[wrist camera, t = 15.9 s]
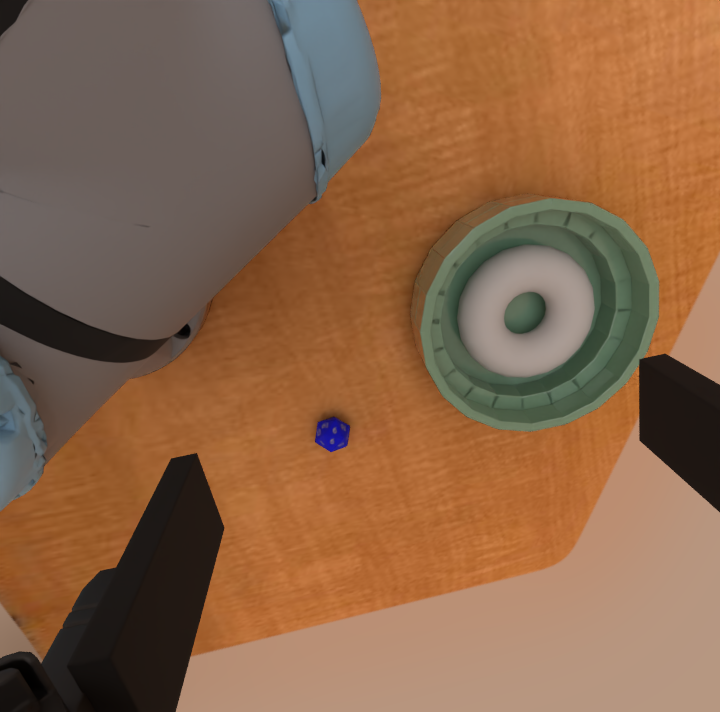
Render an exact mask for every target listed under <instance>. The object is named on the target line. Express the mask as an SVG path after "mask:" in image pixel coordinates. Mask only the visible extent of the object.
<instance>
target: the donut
mask: <svg viewBox="0 0 720 712" xmlns="http://www.w3.org/2000/svg"><path fill="white" fill-rule="evenodd" d="M526 292H535V293H538V294H540V295H541V296H542V297H543V299H544V301H545V306H546V311H545V316H544V317H543V319H542V321H541V323H540V324H539V325H538V326H537V327H536V328H535V329H533V330H531V331H530V332H527V333H523V334H518V333H513V332H511V331H510V330H509V329H507V327H506V326H505V322H504V314H505V310H506V308H507V306H508V304H509V303H510V302H511V301H512V300H513V298H515V297H516V296H518V295H520V294H522V293H526ZM594 311H595V306H594V295H593V287H592V285H591V283H590V281H589V278H588V276H587V274H586V272H585V270H584V269H583V268H582V267H581V266H580V265H579V264H578V263H577V262H576V261H575V260H574V259H573V258H572V257H571V256H570V255H568V254H567V253H565V252H562V251H560V250H558V249H555V248H553V247H551V246H545V245H528V244H524V245H520V246H517V247H513V248H509V249H505V250H502V251H501V252H499V253H497V254H496V255H494V256H493V257H491V258H489V259H488V260H486V261H485V262H483V263H482V265H481V266H480V267H479V268H478V269H477V270H476V271H475V272H474V273H473V275H472V276H471V277H470V278H469V279H468V282H467V284H466V286H465V288H464V290H463V292H462V294H461V296H460V299H459V307H458V314H457V322H458V327H459V332H460V337H461V341H462V342H463V344H464V346H465V347H466V349H467V351H468V353H469V354H470V356H471V357H472V358H473V359H474V360H476V361H477V362H478V363H479V364H480V365H482V366H483V367H484V368H485V369H487V370H488V371H491V372H494V373H497V374H500V375H502V376H505V377H522V378H527V377H531V376H535V375H539V374H543V373H547V372H549V371H551V370H552V369H554V368H556V367H558V366H559V365H561V364H563V363H565V362H566V361H567V360H568V359H569V358H570V357H571V356H572V355H573V354H574V353H575V352H576V351H577V350H578V349H579V348H580V346H581V345H582V343H583V341H584V339H585V338H586V336H587V334H588V332H589V331H590V328H591V323H592V319H593V315H594Z"/></svg>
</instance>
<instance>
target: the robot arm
mask: <svg viewBox="0 0 720 712" xmlns="http://www.w3.org/2000/svg"><path fill="white" fill-rule="evenodd" d="M380 102H381V83H380V75H379V69H378V64H377V59H376V55H375V51H374V48H373V44H372V41H371V38H370V35H369V31H368V28H367V26H366V23H365V20H364V17H363V15H362V12H361V10H360V7H359V5H358V2H357V0H0V511H2V510H3V509H4V508H5V507H6V506H7V505H8V504H9V503H10V502H11V501H12V500H15V499H17V498H19V497H21V496H22V495H24V494H26V493H27V492H28V491H29V490H31V489H32V487H33V486H34V485H35V484H36V483H37V481H38V480H39V479H40V477H41V476H42V474H43V469H44V466H45V465H46V464H47V463H48V462H49V460H50V459H51V458H52V457H53V456H54V455H55V454H56V453H57V452H58V451H59V450H60V449H61V447H62V446H63V445H64V444H65V443H66V442H67V441H68V440H69V439H70V438H71V437H72V436H73V435H74V434H75V433H76V432H77V431H78V430H79V429H80V428H81V427H82V426H83V425H84V424H85V423H86V421H87V420H88V419H89V418H90V417H91V416H92V415H93V414H94V413H95V412H96V411H97V410H98V409H99V408H100V407H101V406H102V405H103V404H104V403H105V402H106V401H107V400H108V399H109V398H110V397H111V396H112V395H113V394H114V393H115V392H116V391H117V390H118V389H119V388H120V387H121V386H122V385H123V384H124V383H125V382H126V381H127V380H129V379H131V378H136V377H140V376H144V375H147V374H149V373H152V372H154V371H156V370H158V369H160V368H162V367H164V366H166V365H167V364H169V363H170V362H172V361H173V360H174V359H176V358H177V357H178V356H179V355H180V354H181V353H182V352H183V351H184V350H185V349H186V348H187V347H188V346H189V344H190V343H191V342H192V340H193V339H194V338H195V336H196V335H197V333H198V332H199V330H200V329H201V327H202V325H203V323H204V322H205V320H206V317H207V315H208V312H209V309H210V306H211V302H212V298H213V297H214V296H215V295H216V294H217V293H218V292H219V291H220V290H221V289H222V288H223V287H224V286H225V285H226V284H227V283H228V282H229V281H230V280H231V279H232V278H233V277H234V276H235V275H236V274H237V273H238V272H239V271H240V270H242V269H243V268H244V267H245V266H246V265H247V264H248V263H249V262H250V261H251V260H252V259H253V258H254V257H255V256H256V255H257V254H258V253H259V252H260V251H261V250H262V249H263V248H264V247H265V246H266V245H267V244H268V243H269V242H270V241H271V240H272V239H273V238H274V237H275V236H276V235H277V234H278V233H279V232H280V231H281V230H282V229H283V228H284V227H285V226H286V225H287V224H288V223H289V222H290V221H291V220H292V219H293V218H294V217H295V216H296V215H297V214H298V213H299V212H300V211H302V210H303V209H304V208H305V207H306V206H307V205H308V204H314V203H316V202H317V201H318V200H319V199H320V198H321V197H322V194H323V192H325V191H326V188H327V184H328V182H329V181H330V179H331V178H332V177H333V176H334V175H335V174H336V173H337V172H338V171H339V170H340V169H341V167H342V166H343V165H344V164H345V163H346V162H347V161H348V160H349V159H350V158H351V157H352V156H353V154H354V153H355V152H356V151H357V150H358V149H359V148H360V147H361V146H362V145H363V144H364V142H365V141H366V140H367V139H368V137H369V136H370V133H371V132H372V129H373V127H374V124H375V121H376V116H377V113H378V111H379V109H380ZM639 422H640V424H639V425H640V426H639V427H640V441H641V442H642V443H643V444H644V445H645V446H646V447H647V448H649V449H650V450H651V451H652V452H653V453H654V454H655V455H656V456H657V457H659V458H660V459H661V460H662V461H663V462H664V463H665V464H666V465H668V466H669V467H670V468H671V469H672V470H673V471H674V472H675V473H676V474H678V475H679V476H680V477H681V478H682V479H683V480H684V481H685V482H687V483H688V484H689V485H690V486H691V487H692V488H693V489H694V490H695V491H697V492H698V493H699V494H700V495H701V496H702V497H703V498H705V499H706V500H707V501H708V502H709V503H710V504H711V505H712V506H713V507H715V508H716V509H717V510H718V511H719V512H720V385H719V384H717V383H715V382H714V381H712V380H710V379H708V378H707V377H705V376H703V375H701V374H700V373H698V372H696V371H695V370H693V369H691V368H689V367H688V366H686V365H684V364H682V363H680V362H679V361H677V360H675V359H674V358H672V357H670V356H668V355H667V354H662V355H657V356H652V357H648V358H643V359H639ZM223 531H224V525H223V523H222V520H221V517H220V515H219V512H218V509H217V506H216V504H215V501H214V498H213V496H212V493H211V490H210V487H209V485H208V482H207V479H206V477H205V474H204V471H203V469H202V466H201V463H200V460H199V458H198V455H197V453H195V454H190V455H186V456H181V457H176V458H172V459H171V460H170V462H169V464H168V466H167V468H166V470H165V472H164V474H163V476H162V478H161V480H160V482H159V484H158V486H157V488H156V490H155V492H154V494H153V496H152V498H151V500H150V502H149V504H148V506H147V508H146V510H145V512H144V514H143V516H142V518H141V520H140V522H139V523H138V525H137V527H136V529H135V531H134V533H133V535H132V537H131V539H130V541H129V543H128V545H127V547H126V549H125V551H124V553H123V555H122V557H121V559H120V561H119V563H118V565H117V567H116V568H112V569H107V570H102V571H100V572H99V573H98V574H97V575H96V576H95V577H94V578H93V579H92V580H91V581H90V582H89V583H88V584H87V585H86V586H85V587H84V588H83V590H82V591H81V593H80V595H79V597H78V599H77V600H76V602H75V604H74V606H73V608H72V612H71V613H69V615H68V617H67V618H66V620H65V622H64V624H63V629H60V631H59V633H58V634H57V636H56V638H55V640H54V642H53V643H52V645H51V647H50V649H49V651H48V652H47V654H46V656H45V658H44V660H43V661H42V663H40V662H39V660H38V658H37V657H35V655H33V654H32V653H31V652H16V653H14V654H10V655H7V656H4V657H2V658H0V712H176V708H177V704H178V701H179V697H180V693H181V689H182V686H183V682H184V678H185V674H186V671H187V667H188V663H189V659H190V656H191V652H192V648H193V644H194V641H195V637H196V633H197V629H198V626H199V622H200V618H201V614H202V610H203V607H204V603H205V599H206V595H207V592H208V588H209V584H210V580H211V577H212V573H213V569H214V565H215V562H216V558H217V554H218V550H219V547H220V543H221V539H222V535H223Z"/></svg>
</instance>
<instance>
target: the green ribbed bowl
mask: <svg viewBox="0 0 720 712" xmlns="http://www.w3.org/2000/svg"><path fill="white" fill-rule="evenodd" d="M524 244H528V245H545V246H551V247H553V248H555V249H558V250H560V251H562V252H565V253H567V254H568V255H570V256H571V257H572V258H573V259H574V260H575V261H576V262H577V263H578V264H579V265H580V266H581V267H582V268H583V269H584V270H585V272H586V274H587V276H588V278H589V281H590V283H591V285H592V287H593V295H594V306H595V311H594V315H593V319H592V323H591V328H590V331H589V332H588V334H587V336H586V338H585V339H584V341H583V343H582V345H581V346H580V348H579V349H578V350H577V351H576V352H575V353H574V354H573V355H572V356H571V357H570V358H569V359H568V360H567V361H566V362H565V363H563V364H561V365H559V366H558V367H556V368H554V369H552V370H551V371H549V372H547V373H543V374H539V375H535V376H531V377H527V378H522V377H505V376H502V375H500V374H497V373H494V372H491V371H488V370H487V369H485V368H484V367H483V366H482V365H480V364H479V363H478V362H477V361H476V360H474V359H473V358H472V357H471V356H470V354H469V353H468V351H467V349H466V347H465V346H464V344H463V342H462V341H461V337H460V332H459V327H458V322H457V314H458V307H459V299H460V296H461V294H462V292H463V290H464V288H465V286H466V284H467V282H468V279H469V278H470V277H471V276H472V275H473V273H474V272H475V271H476V270H477V269H478V268H479V267H480V266H481V265H482V263H483V262H485V261H486V260H488V259H489V258H491V257H493V256H494V255H496V254H497V253H499V252H501V251H502V250H505V249H509V248H513V247H517V246H520V245H524ZM545 311H546V306H545V301H544V299H543V297H542V296H541V295H540V294H538V293H535V292H526V293H522V294H520V295H518V296H516V297H515V298H513V300H512V301H511V302H510V303H509V304H508V306H507V308H506V310H505V314H504V322H505V326H506V327H507V329H509V330H510V331H511V332H513V333H518V334H523V333H527V332H530V331H531V330H533V329H535V328H536V327H537V326H538V325H539V324H540V323H541V321H542V319H543V317H544V316H545ZM410 317H411V323H412V329H413V334H414V340H415V346H416V348H417V350H418V352H419V354H420V356H421V358H422V360H423V362H424V364H425V366H426V368H427V370H428V372H429V374H430V375H431V377H432V379H433V381H434V382H435V384H436V386H437V388H438V390H439V391H440V393H441V395H442V396H443V397H444V398H445V399H446V400H447V401H449V402H450V403H451V404H452V405H453V406H454V407H456V408H457V409H458V410H459V411H460V412H461V413H463V414H464V415H465V416H466V417H468V418H471V419H473V420H476V421H478V422H481V423H483V424H486V425H488V426H491V427H493V428H496V429H501V430H515V431H529V432H531V431H537V430H542V429H546V428H551V427H556V426H560V425H565V424H568V423H570V422H572V421H574V420H576V419H578V418H580V417H582V416H584V415H586V414H588V413H590V412H592V411H594V410H596V409H598V407H600V406H601V405H602V404H603V403H605V402H606V401H607V400H608V399H609V398H610V397H611V396H613V395H614V394H615V393H616V392H617V391H618V390H619V389H620V388H622V387H623V386H624V385H625V384H626V383H627V382H628V380H629V379H630V377H631V376H632V374H633V373H634V371H635V370H636V368H637V367H638V365H639V359H643V358H644V356H645V355H646V352H648V349H649V345H650V342H651V339H652V336H653V333H654V330H655V327H656V324H657V321H658V317H659V280H658V277H657V274H656V271H655V268H654V265H653V262H652V259H651V256H650V254H649V251H648V248H647V247H646V245H645V244H644V243H643V242H642V241H641V239H640V238H639V237H638V236H637V235H636V234H635V232H634V231H633V230H632V229H631V228H630V227H629V225H628V224H627V223H626V222H625V221H624V220H623V219H621V218H619V217H617V216H616V215H614V214H612V213H610V212H608V211H606V210H604V209H602V208H600V207H598V206H596V205H595V204H593V203H590V202H584V201H578V200H572V199H566V198H560V197H552V196H544V195H535V194H522V195H517V196H513V197H508V198H503V199H499V200H494V201H491V202H488V203H486V204H485V205H483V206H481V207H479V208H478V209H476V210H474V211H472V212H471V213H469V214H467V215H465V216H464V217H462V218H460V219H458V221H456V222H455V223H454V224H453V225H452V226H451V227H450V228H449V230H448V231H447V232H446V233H445V234H444V235H443V236H442V237H441V238H440V239H439V240H438V241H437V242H436V243H435V244H434V246H433V247H432V248H431V249H430V251H429V253H428V255H427V257H426V259H425V261H424V264H423V266H422V268H421V270H420V272H419V274H418V276H417V278H416V281H415V285H414V291H413V298H412V304H411V311H410Z"/></svg>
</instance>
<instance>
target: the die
mask: <svg viewBox="0 0 720 712" xmlns="http://www.w3.org/2000/svg"><path fill="white" fill-rule="evenodd" d="M349 431H350V426H349V425H347V424H346V423H344V422H342V421H341V420H339V419H337V418H336V417H332V418H329V419H326V420H322V421H319V422H318V425H317V432H316V439H315V442H316V443H317V444H319V445H320V446H322V447H324V448H325V449H327V450H328V451H330V452H333V451H335V450H338V449H341V448H343V447H346V446H347V444H348V437H349Z"/></svg>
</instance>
